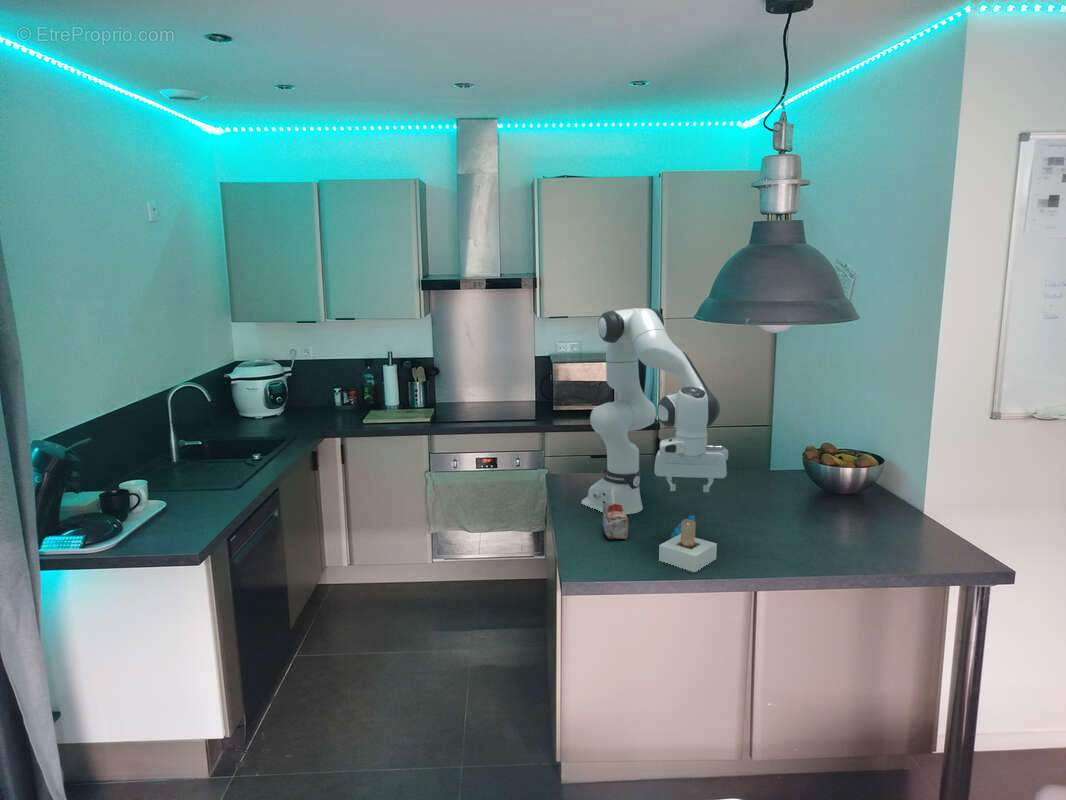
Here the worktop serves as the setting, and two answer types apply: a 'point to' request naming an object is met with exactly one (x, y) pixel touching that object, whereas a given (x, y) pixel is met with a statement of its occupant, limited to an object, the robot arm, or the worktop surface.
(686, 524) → the wooden peg
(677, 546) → the fitting block
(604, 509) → the food item
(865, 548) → the worktop surface
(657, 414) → the robot arm
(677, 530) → the gear
